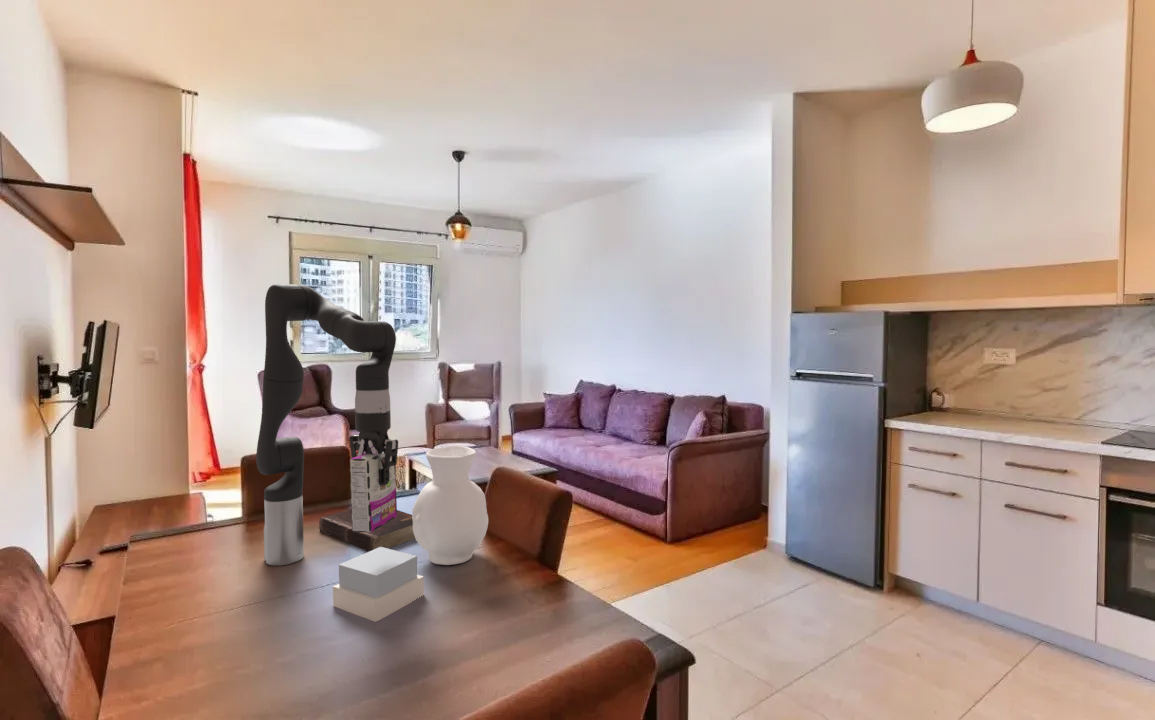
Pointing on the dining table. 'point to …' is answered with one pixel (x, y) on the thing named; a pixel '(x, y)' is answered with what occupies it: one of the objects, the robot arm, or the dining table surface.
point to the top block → (377, 571)
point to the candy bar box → (371, 494)
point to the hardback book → (381, 537)
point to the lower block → (378, 600)
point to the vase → (450, 508)
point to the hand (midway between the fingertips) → (374, 482)
